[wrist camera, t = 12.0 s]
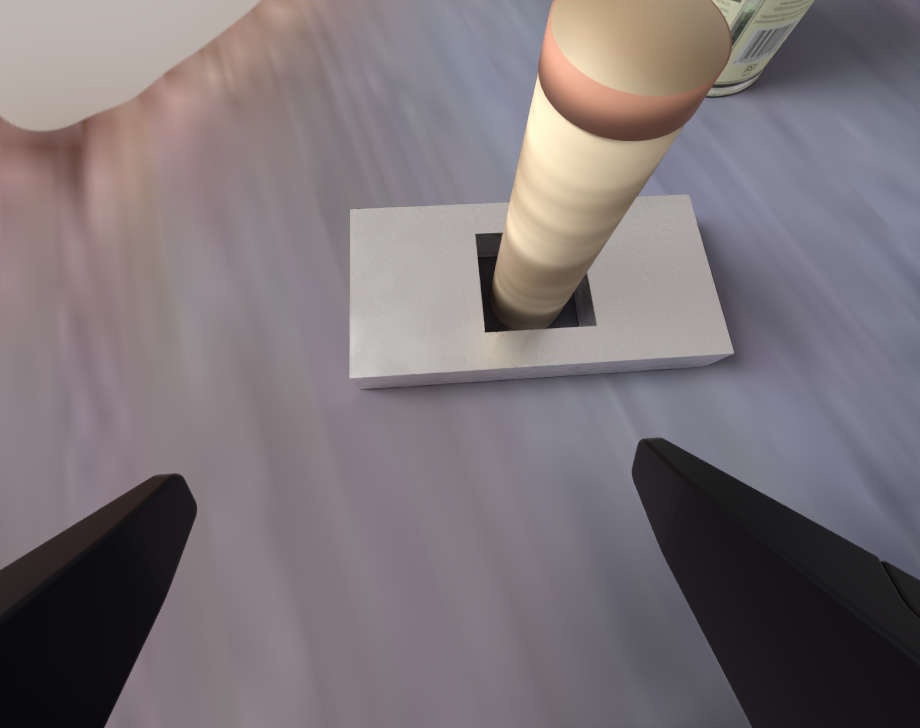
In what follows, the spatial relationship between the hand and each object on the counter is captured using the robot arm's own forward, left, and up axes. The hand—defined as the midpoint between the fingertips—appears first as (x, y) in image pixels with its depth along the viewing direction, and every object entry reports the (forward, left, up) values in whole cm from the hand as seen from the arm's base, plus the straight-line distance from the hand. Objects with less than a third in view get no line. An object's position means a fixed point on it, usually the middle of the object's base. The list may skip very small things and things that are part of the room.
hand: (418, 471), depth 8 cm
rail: (+10, -6, -14) cm, 18 cm away
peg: (+10, -6, -14) cm, 18 cm away
